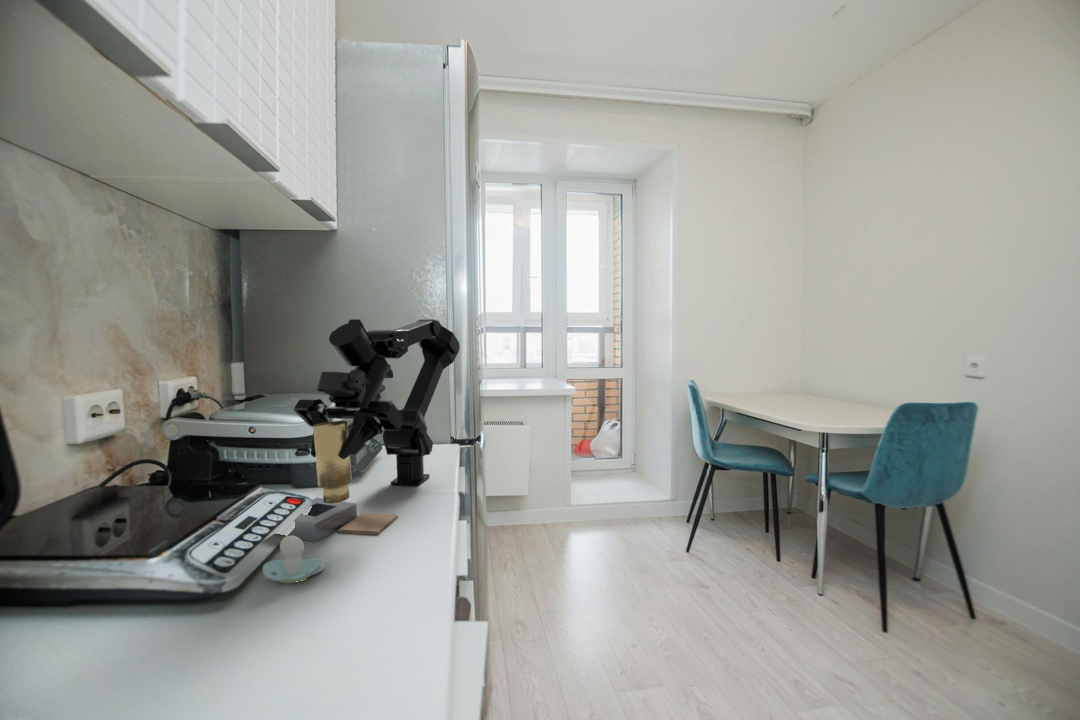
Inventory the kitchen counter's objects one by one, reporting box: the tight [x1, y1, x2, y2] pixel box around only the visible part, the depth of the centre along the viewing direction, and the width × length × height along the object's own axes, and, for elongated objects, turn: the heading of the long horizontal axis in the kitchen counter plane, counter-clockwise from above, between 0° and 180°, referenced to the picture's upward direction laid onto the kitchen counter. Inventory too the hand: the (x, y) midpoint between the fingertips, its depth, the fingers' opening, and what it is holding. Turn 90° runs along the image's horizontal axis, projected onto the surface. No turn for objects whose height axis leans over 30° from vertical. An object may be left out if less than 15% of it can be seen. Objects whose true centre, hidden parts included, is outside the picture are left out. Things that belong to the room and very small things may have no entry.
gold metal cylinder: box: [312, 420, 353, 503], centre depth 78 cm, size 5×5×13 cm
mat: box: [338, 512, 399, 536], centre depth 79 cm, size 7×7×1 cm
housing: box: [290, 497, 358, 543], centre depth 79 cm, size 9×9×3 cm
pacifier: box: [262, 536, 325, 584], centre depth 63 cm, size 7×6×6 cm
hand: (327, 456), depth 77 cm, fingers closed on gold metal cylinder, 5 cm apart
